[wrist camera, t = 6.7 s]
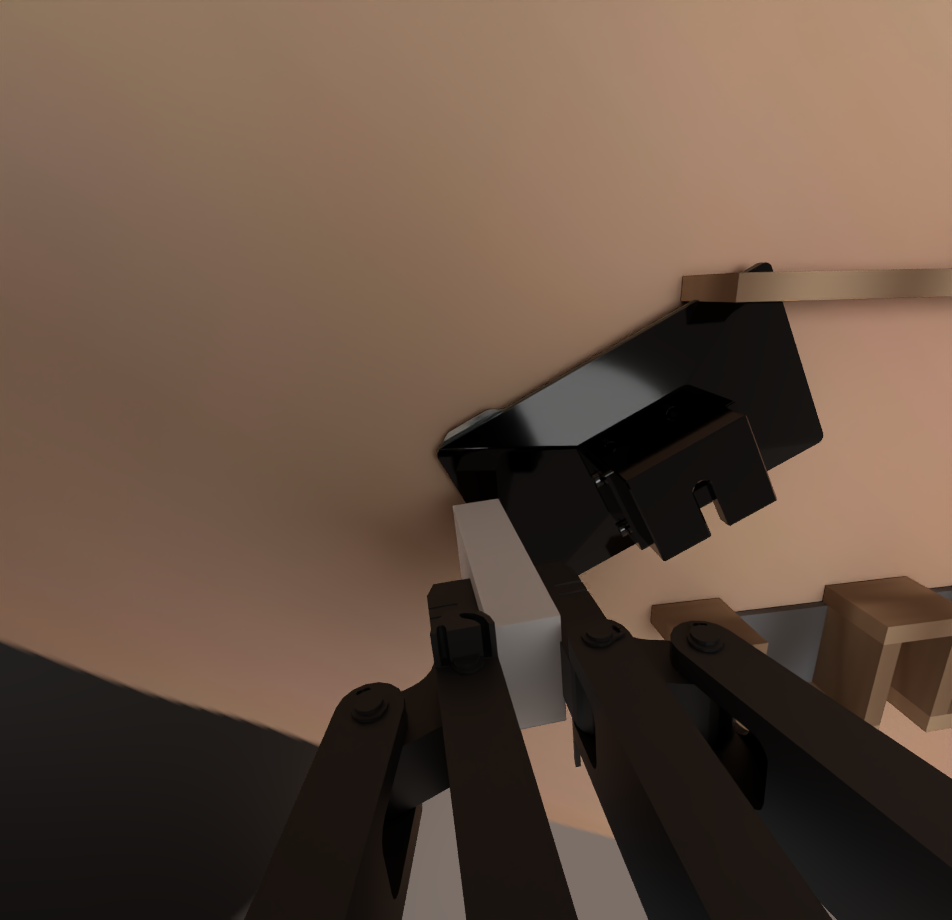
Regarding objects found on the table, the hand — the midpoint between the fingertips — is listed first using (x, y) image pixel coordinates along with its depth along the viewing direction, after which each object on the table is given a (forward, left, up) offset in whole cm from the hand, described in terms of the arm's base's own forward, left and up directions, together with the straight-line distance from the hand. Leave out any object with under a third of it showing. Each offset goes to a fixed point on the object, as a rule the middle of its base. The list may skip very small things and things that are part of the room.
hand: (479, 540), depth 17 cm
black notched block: (+7, +2, -4) cm, 8 cm away
